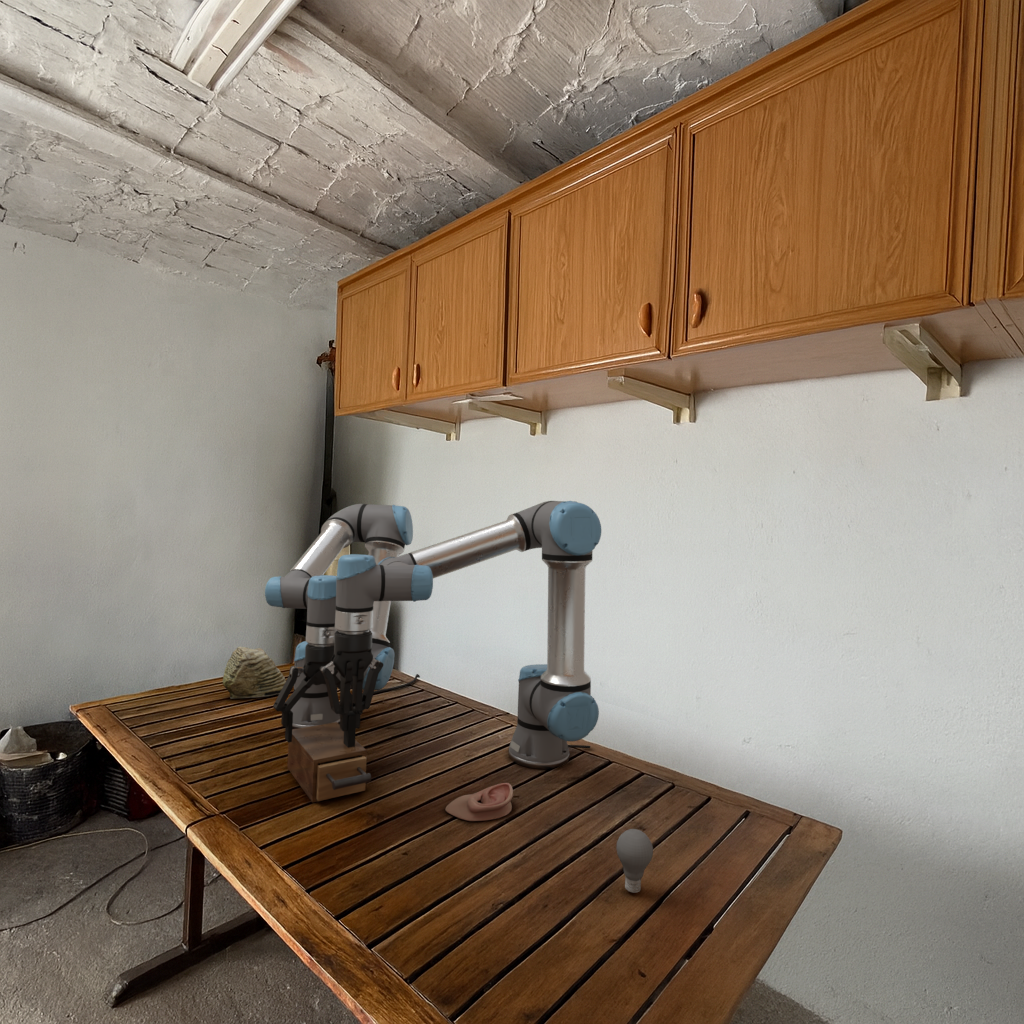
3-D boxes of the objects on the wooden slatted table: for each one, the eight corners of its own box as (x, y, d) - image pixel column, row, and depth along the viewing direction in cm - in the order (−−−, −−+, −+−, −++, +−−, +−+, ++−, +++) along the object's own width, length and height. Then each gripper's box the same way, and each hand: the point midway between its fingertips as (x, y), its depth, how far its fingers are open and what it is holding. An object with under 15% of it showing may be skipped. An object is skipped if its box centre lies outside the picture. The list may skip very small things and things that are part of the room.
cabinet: (364, 790, 137) (366, 749, 137) (312, 802, 131) (313, 760, 131) (335, 758, 153) (336, 722, 153) (287, 768, 147) (288, 729, 147)
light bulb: (610, 879, 108) (613, 822, 108) (644, 879, 109) (647, 822, 109) (619, 902, 102) (622, 840, 102) (655, 901, 103) (658, 840, 103)
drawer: (376, 802, 131) (377, 768, 130) (327, 814, 125) (328, 778, 125) (337, 759, 150) (338, 730, 150) (293, 768, 145) (295, 738, 144)
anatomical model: (441, 797, 127) (457, 773, 138) (440, 817, 127) (456, 791, 138) (505, 806, 124) (517, 781, 136) (504, 826, 124) (516, 800, 136)
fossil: (218, 695, 195) (220, 647, 195) (278, 685, 208) (279, 640, 207) (228, 703, 189) (230, 653, 188) (289, 692, 201) (290, 645, 201)
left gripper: (270, 651, 136) (265, 750, 136) (380, 642, 150) (376, 731, 150) (262, 644, 142) (257, 739, 142) (368, 636, 156) (364, 722, 156)
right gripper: (328, 636, 123) (323, 757, 123) (390, 631, 130) (386, 745, 130) (316, 629, 129) (311, 744, 129) (376, 624, 136) (372, 733, 137)
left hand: (318, 735), depth 146 cm, fingers open, 13 cm apart
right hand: (349, 744), depth 130 cm, fingers closed
